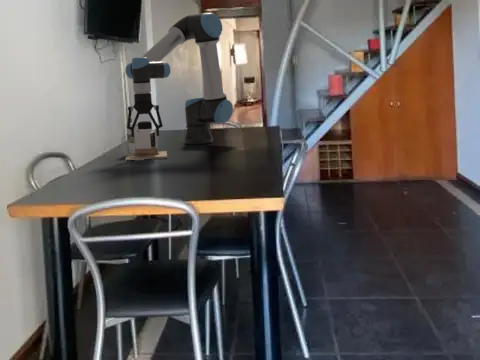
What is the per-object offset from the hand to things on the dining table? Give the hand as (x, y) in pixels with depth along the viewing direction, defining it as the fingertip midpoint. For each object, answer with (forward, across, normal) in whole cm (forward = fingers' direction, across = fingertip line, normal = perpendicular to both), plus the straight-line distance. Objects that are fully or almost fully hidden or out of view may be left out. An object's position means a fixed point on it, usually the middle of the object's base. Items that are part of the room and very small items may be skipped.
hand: (146, 143), depth 276 cm
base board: (+6, 0, 0) cm, 6 cm away
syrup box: (+6, -5, +14) cm, 16 cm away
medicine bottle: (+2, 0, 0) cm, 2 cm away
